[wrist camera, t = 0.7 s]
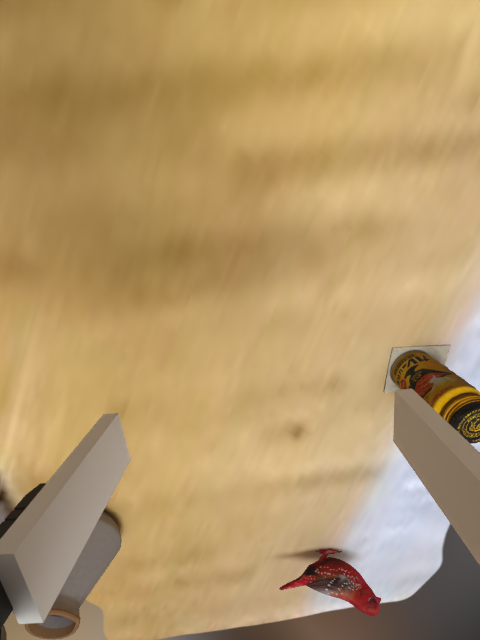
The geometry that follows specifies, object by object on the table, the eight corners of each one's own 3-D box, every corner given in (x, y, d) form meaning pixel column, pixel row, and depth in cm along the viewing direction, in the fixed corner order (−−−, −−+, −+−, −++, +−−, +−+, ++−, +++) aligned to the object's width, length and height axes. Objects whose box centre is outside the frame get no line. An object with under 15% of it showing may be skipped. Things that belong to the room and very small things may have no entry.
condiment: (391, 347, 41) (457, 402, 30) (449, 344, 42) (534, 396, 31) (383, 391, 44) (440, 455, 33) (437, 387, 44) (511, 450, 33)
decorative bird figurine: (358, 553, 59) (385, 619, 49) (271, 554, 56) (282, 623, 47) (362, 544, 58) (391, 610, 48) (274, 544, 55) (286, 613, 46)
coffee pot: (134, 539, 52) (104, 664, 38) (68, 550, 51) (14, 680, 38) (95, 448, 43) (39, 564, 30) (16, 461, 43) (-77, 584, 29)
